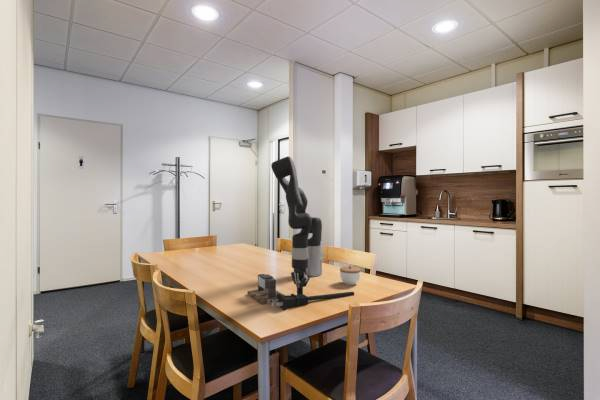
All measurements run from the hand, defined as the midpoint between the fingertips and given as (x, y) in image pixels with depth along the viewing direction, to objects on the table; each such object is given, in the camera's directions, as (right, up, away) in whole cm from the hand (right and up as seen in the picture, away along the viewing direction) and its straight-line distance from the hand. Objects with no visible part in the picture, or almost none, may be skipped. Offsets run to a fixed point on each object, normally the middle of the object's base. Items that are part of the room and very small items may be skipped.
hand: (299, 295), depth 144 cm
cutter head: (-15, +1, 0) cm, 15 cm away
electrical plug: (+6, -2, -5) cm, 8 cm away
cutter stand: (-15, -1, 0) cm, 15 cm away
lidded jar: (+26, -1, +22) cm, 35 cm away
